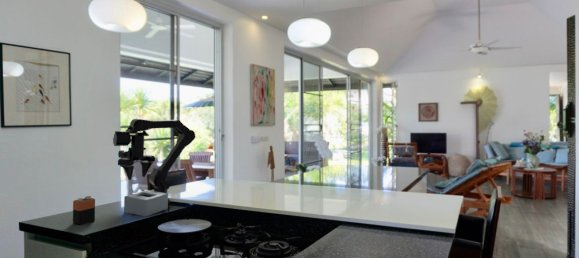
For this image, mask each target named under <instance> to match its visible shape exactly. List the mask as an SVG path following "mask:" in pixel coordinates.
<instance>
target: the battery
mask: <svg viewBox="0 0 579 258" xmlns="http://www.w3.org/2000/svg"><path fill="white" fill-rule="evenodd" d="M95 212H96V199H95V198H92V196H91V195H86V196H84V198H83V197H78V198H77V199H75V200H73V201H72V224H74V223H75V224H74V225H78V224H82V225H85V224H84V223H86V224H89V223H93V222H95V221H96V220H95V219H96V218H95V217H96V213H95ZM92 221H93V222H92ZM88 222H89V223H88Z"/></svg>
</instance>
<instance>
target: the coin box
mask: <svg viewBox="0 0 579 258" xmlns="http://www.w3.org/2000/svg"><path fill="white" fill-rule="evenodd" d="M168 199H169V193H168V192H167V193H161V192H154V190H148V189H147V190H143V191H140V192H135V193H132V194H130V195H128V194H127V195H125V196H124V199H123V200H124V201H123V207H124V208H123V212H124V213H126V214H132V215H138V216H142V217H148V216H150V215H154V214H156V213H159V212H161V211H165V210H167V209H168V208H169V207H168V204H169V203H168V202H169V200H168Z"/></svg>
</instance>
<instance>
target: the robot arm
mask: <svg viewBox="0 0 579 258" xmlns="http://www.w3.org/2000/svg"><path fill="white" fill-rule="evenodd" d="M152 129H174V130H175V131H176V133H178V136H177V138H176V139H177V140H176V143H175V145H174V146H173V147H172V149H171V150H170V152H169V153H168V155H167V156H166V158H165V160H164V161H163V162H162V164H161V165H160V166H159V167H158V168H156V167H154V168H153V169H152V171H151V172H150V173H149V174H148V175H149V177H148V179H149V181H148V182H149V183H150V184H151V185H152V187H153V188H154V189H153V191H154V192H161V193H168V190H169V189H170V187H171V185H170V184H169V183H168V182H167V179H168V176H169V171H170V170H171V168H172V167H173V166H174V164H175V162H176V161H177V160H178V158H179V156H180V155H181V154H182V152H183V151H184V149H185V148H187V146H189V145H190V144H192V142H193V141H194V140H195V139H196V132H195V131H194V130H192V129H190V128H189V127H187V125H185V124H184V123H183V122H182V121H181V120H179V119H165V120H162V119H161V120H148V119H143V118H133V119H132V120H131V121H130V122H129V126H128V127H127V128H126V129H125V131H120V130H119V131H118V130H115V131H114V134H113V138H112V143H113V146H114V147H125V146H126V147H127V146H129V145H130V147H128V148H127V149H128V150H123V149H121V150H118V154H117V156H118V158H119V159H118V160H117V166H120V168H121V167H122V168H123V170H124V171H125V174H126V177H127V180H128V181H131V180H132V177H133V173H134V169H135V165H134V164H135V163H140V165H141V176H142V177H143V178H145V177H146V175H147V173H148V171H149V169H150V168H151V167H152V164H153V163H154V162H156V157H155V155H153V154H152V155H151V154H145V151H146V150H147V147H145V137H150V136H149V135H150V134H149V133H148V132H147V131H149V130H152Z"/></svg>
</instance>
